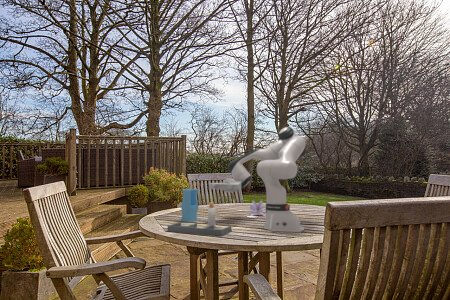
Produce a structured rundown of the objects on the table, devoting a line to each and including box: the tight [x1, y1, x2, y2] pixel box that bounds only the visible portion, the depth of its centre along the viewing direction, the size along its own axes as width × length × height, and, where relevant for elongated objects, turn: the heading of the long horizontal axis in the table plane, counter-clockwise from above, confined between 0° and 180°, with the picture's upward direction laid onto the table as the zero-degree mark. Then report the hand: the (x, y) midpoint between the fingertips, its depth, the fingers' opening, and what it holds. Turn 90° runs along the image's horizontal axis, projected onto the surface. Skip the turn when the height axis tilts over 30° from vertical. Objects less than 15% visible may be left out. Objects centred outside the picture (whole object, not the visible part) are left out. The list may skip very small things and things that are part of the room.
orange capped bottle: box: [206, 201, 217, 228], centre depth 208 cm, size 5×5×14 cm
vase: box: [180, 188, 199, 223], centre depth 229 cm, size 8×8×20 cm
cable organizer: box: [167, 221, 233, 237], centre depth 193 cm, size 32×14×3 cm, turn 67°
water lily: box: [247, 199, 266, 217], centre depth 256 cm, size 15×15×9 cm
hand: (220, 187), depth 220 cm, fingers open, 8 cm apart
